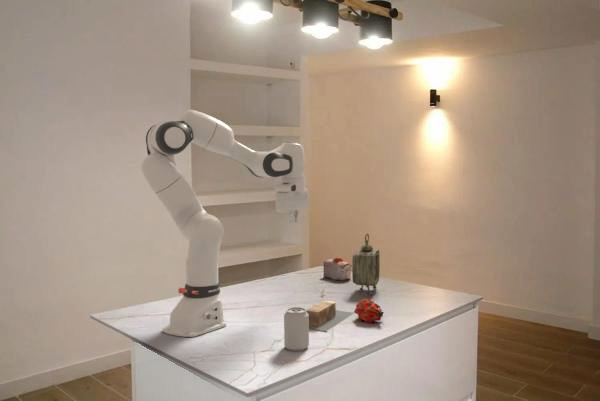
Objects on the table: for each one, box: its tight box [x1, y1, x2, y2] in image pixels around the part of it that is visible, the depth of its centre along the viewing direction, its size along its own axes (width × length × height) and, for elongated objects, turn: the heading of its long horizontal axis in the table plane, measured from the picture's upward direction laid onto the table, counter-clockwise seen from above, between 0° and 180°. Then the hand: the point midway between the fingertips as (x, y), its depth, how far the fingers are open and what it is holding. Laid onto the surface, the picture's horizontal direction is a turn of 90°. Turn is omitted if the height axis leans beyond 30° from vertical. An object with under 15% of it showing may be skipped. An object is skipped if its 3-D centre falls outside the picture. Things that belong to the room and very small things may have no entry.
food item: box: [323, 257, 352, 282], centre depth 264 cm, size 14×8×10 cm, turn 47°
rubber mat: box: [309, 309, 354, 333], centre depth 200 cm, size 24×14×1 cm, turn 152°
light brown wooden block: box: [306, 300, 337, 326], centre depth 198 cm, size 5×5×14 cm
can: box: [283, 306, 310, 352], centre depth 172 cm, size 8×8×12 cm
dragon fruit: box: [353, 298, 384, 325], centre depth 197 cm, size 8×8×12 cm
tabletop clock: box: [351, 233, 381, 296], centre depth 238 cm, size 14×9×25 cm, turn 162°
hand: (293, 222), depth 212 cm, fingers closed
